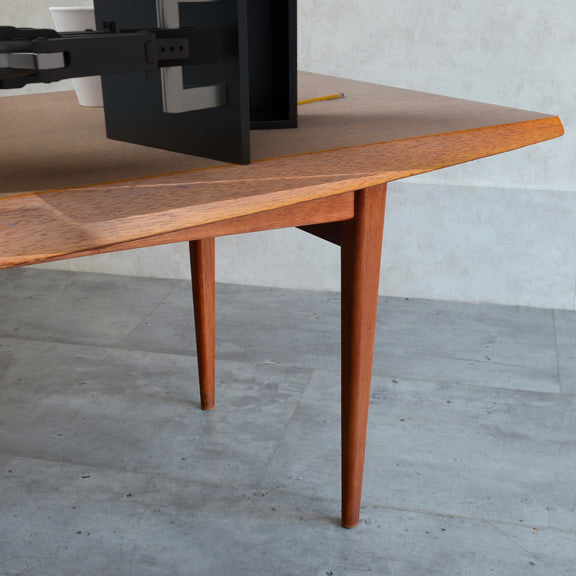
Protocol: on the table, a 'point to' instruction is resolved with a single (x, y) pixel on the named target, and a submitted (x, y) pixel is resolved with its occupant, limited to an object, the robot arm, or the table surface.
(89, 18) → the cup
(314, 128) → the table surface
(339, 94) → the pencil
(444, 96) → the table surface
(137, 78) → the door
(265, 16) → the cupboard
